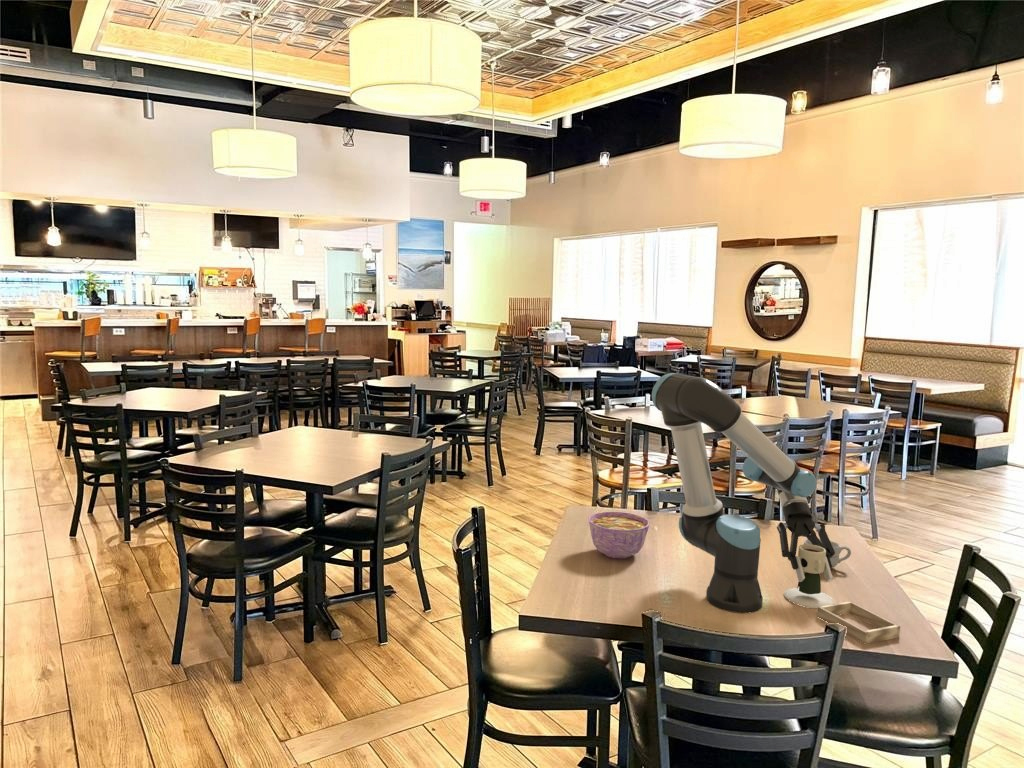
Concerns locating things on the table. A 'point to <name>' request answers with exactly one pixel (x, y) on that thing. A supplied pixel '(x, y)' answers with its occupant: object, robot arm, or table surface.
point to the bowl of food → (618, 533)
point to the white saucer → (808, 598)
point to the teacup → (837, 549)
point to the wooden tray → (884, 626)
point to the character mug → (811, 568)
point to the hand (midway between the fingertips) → (815, 580)
